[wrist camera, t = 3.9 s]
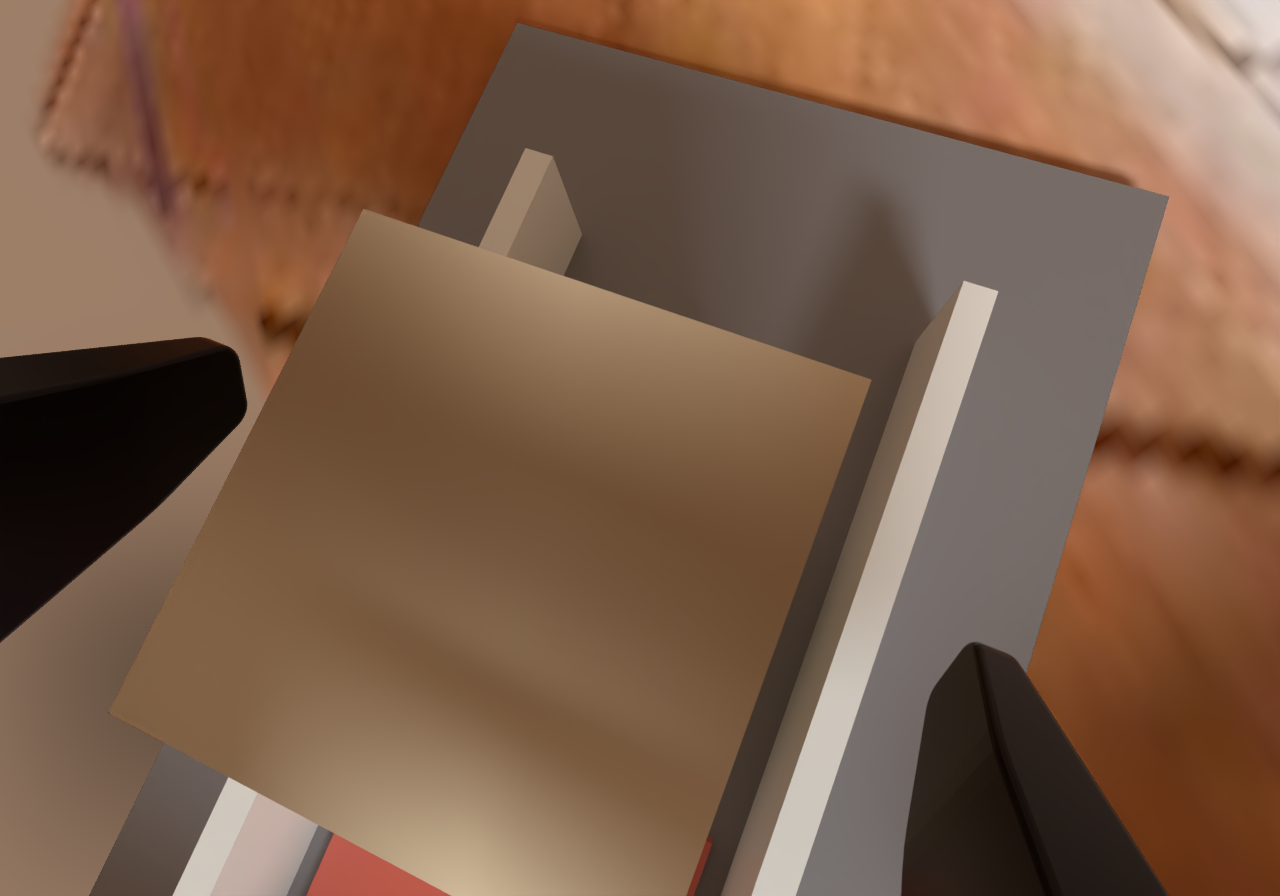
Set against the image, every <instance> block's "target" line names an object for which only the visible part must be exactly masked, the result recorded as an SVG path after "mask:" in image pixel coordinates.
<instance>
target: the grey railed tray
mask: <svg viewBox="0 0 1280 896" xmlns="http://www.w3.org/2000/svg"><path fill="white" fill-rule="evenodd" d="M1168 199H1169V196H1165V195H1161V194H1158V193H1154V192H1150V191H1146V190H1143V189H1139V188H1135V187H1131V186H1128V185H1124V184H1120V183H1117V182H1113V181H1109V180H1105V179H1102V178H1098V177H1094V176H1090V175H1087V174H1083V173H1079V172H1075V171H1072V170H1068V169H1064V168H1060V167H1057V166H1053V165H1049V164H1045V163H1042V162H1038V161H1034V160H1030V159H1027V158H1023V157H1019V156H1015V155H1012V154H1008V153H1004V152H1000V151H997V150H993V149H989V148H985V147H982V146H978V145H974V144H970V143H967V142H963V141H959V140H956V139H952V138H948V137H944V136H941V135H937V134H933V133H929V132H926V131H922V130H918V129H914V128H911V127H907V126H903V125H899V124H896V123H892V122H888V121H884V120H881V119H877V118H873V117H869V116H866V115H862V114H858V113H854V112H851V111H847V110H843V109H839V108H836V107H832V106H828V105H824V104H821V103H817V102H813V101H809V100H806V99H802V98H798V97H795V96H791V95H787V94H783V93H780V92H776V91H772V90H768V89H765V88H761V87H757V86H753V85H750V84H746V83H742V82H738V81H735V80H731V79H727V78H723V77H720V76H716V75H712V74H708V73H705V72H701V71H697V70H693V69H690V68H686V67H682V66H678V65H675V64H671V63H667V62H663V61H660V60H656V59H652V58H649V57H645V56H641V55H637V54H634V53H630V52H626V51H622V50H619V49H615V48H611V47H607V46H604V45H600V44H596V43H592V42H589V41H585V40H581V39H577V38H574V37H570V36H566V35H562V34H559V33H555V32H551V31H547V30H544V29H540V28H536V27H532V26H529V25H525V24H521V23H517V24H516V26H515V28H514V30H513V32H512V34H511V36H510V39H509V41H508V43H507V45H506V47H505V49H504V51H503V53H502V55H501V57H500V59H499V61H498V63H497V65H496V67H495V69H494V71H493V73H492V75H491V77H490V79H489V81H488V83H487V85H486V87H485V90H484V92H483V94H482V96H481V98H480V100H479V102H478V104H477V106H476V108H475V110H474V112H473V114H472V116H471V118H470V120H469V122H468V124H467V126H466V128H465V130H464V132H463V134H462V136H461V138H460V140H459V143H458V145H457V147H456V149H455V151H454V153H453V155H452V157H451V159H450V161H449V163H448V165H447V167H446V169H445V171H444V173H443V175H442V177H441V179H440V181H439V183H438V185H437V187H436V189H435V191H434V194H433V196H432V198H431V200H430V202H429V204H428V206H427V208H426V210H425V212H424V214H423V216H422V218H421V220H420V222H419V224H418V226H417V227H419V228H422V229H425V230H428V231H431V232H434V233H437V234H440V235H443V236H446V237H449V238H452V239H455V240H458V241H461V242H464V243H467V244H470V245H473V246H476V247H479V248H482V249H485V250H488V251H491V252H494V253H497V254H500V255H503V256H506V257H509V258H512V259H515V260H518V261H520V262H523V263H526V264H529V265H532V266H535V267H538V268H541V269H544V270H547V271H550V272H553V273H556V274H559V275H562V276H565V277H568V278H571V279H574V280H577V281H580V282H583V283H586V284H589V285H592V286H595V287H598V288H601V289H604V290H607V291H610V292H613V293H616V294H619V295H622V296H624V297H627V298H630V299H633V300H636V301H639V302H642V303H645V304H648V305H651V306H654V307H657V308H660V309H663V310H666V311H669V312H672V313H675V314H678V315H681V316H684V317H687V318H690V319H693V320H696V321H699V322H702V323H705V324H708V325H711V326H714V327H717V328H720V329H723V330H726V331H728V332H731V333H734V334H737V335H740V336H743V337H746V338H749V339H752V340H755V341H758V342H761V343H764V344H767V345H770V346H773V347H776V348H779V349H782V350H785V351H788V352H791V353H794V354H797V355H800V356H803V357H806V358H809V359H812V360H815V361H818V362H821V363H824V364H827V365H830V366H832V367H835V368H838V369H841V370H844V371H847V372H850V373H853V374H856V375H859V376H862V377H865V378H868V379H871V383H870V386H869V389H868V391H867V394H866V397H865V400H864V403H863V405H862V408H861V411H860V414H859V416H858V419H857V422H856V425H855V428H854V430H853V433H852V436H851V439H850V442H849V444H848V447H847V450H846V453H845V455H844V458H843V461H842V464H841V467H840V469H839V472H838V475H837V478H836V480H835V483H834V486H833V489H832V492H831V494H830V497H829V500H828V503H827V506H826V508H825V511H824V514H823V517H822V519H821V522H820V525H819V528H818V531H817V533H816V536H815V539H814V542H813V544H812V547H811V550H810V553H809V556H808V558H807V561H806V564H805V567H804V569H803V572H802V575H801V578H800V581H799V583H798V586H797V589H796V592H795V595H794V597H793V600H792V603H791V606H790V608H789V611H788V614H787V617H786V620H785V622H784V625H783V628H782V631H781V633H780V636H779V639H778V642H777V645H776V647H775V650H774V653H773V656H772V658H771V661H770V664H769V667H768V670H767V672H766V675H765V678H764V681H763V684H762V686H761V689H760V692H759V695H758V697H757V700H756V703H755V706H754V709H753V711H752V714H751V717H750V720H749V722H748V725H747V728H746V731H745V734H744V736H743V739H742V742H741V745H740V748H739V750H738V753H737V756H736V759H735V761H734V764H733V767H732V770H731V773H730V775H729V778H728V781H727V784H726V786H725V789H724V792H723V795H722V798H721V800H720V803H719V806H718V809H717V811H716V814H715V817H714V820H713V823H712V825H711V828H710V831H709V834H708V837H707V839H706V842H705V845H704V848H703V850H702V853H701V856H700V859H699V862H698V864H697V867H696V870H695V873H694V875H693V878H692V881H691V884H690V887H689V889H688V892H687V895H686V896H901V880H902V864H903V850H904V842H905V835H906V827H907V821H908V815H909V809H910V803H911V796H912V790H913V784H914V778H915V772H916V766H917V760H918V754H919V748H920V742H921V735H922V729H923V723H924V717H925V711H926V706H927V702H928V699H929V696H930V694H931V692H932V690H933V688H934V686H935V685H936V683H937V682H938V681H939V679H940V678H941V676H942V675H943V674H944V672H945V671H946V670H947V668H948V667H949V666H950V664H951V663H952V662H953V660H954V659H955V658H956V656H957V655H958V654H959V652H960V651H961V650H962V648H963V647H964V646H966V645H967V644H968V643H970V642H980V643H983V644H985V645H988V646H990V647H993V648H995V649H998V650H1000V651H1003V652H1005V653H1008V654H1010V655H1011V656H1013V657H1014V658H1015V659H1016V660H1017V661H1018V662H1019V664H1020V665H1021V667H1022V668H1023V670H1024V671H1025V673H1027V669H1028V666H1029V663H1030V659H1031V656H1032V653H1033V649H1034V646H1035V643H1036V639H1037V636H1038V633H1039V629H1040V626H1041V623H1042V619H1043V616H1044V613H1045V609H1046V606H1047V603H1048V599H1049V596H1050V593H1051V589H1052V586H1053V583H1054V579H1055V576H1056V573H1057V569H1058V566H1059V563H1060V559H1061V556H1062V553H1063V549H1064V546H1065V543H1066V539H1067V536H1068V533H1069V529H1070V526H1071V523H1072V519H1073V516H1074V512H1075V509H1076V506H1077V502H1078V499H1079V496H1080V492H1081V489H1082V486H1083V482H1084V479H1085V476H1086V472H1087V469H1088V466H1089V462H1090V459H1091V456H1092V452H1093V449H1094V446H1095V442H1096V439H1097V436H1098V432H1099V429H1100V426H1101V422H1102V419H1103V416H1104V412H1105V409H1106V406H1107V402H1108V399H1109V396H1110V392H1111V389H1112V386H1113V382H1114V379H1115V376H1116V372H1117V369H1118V366H1119V362H1120V359H1121V356H1122V352H1123V349H1124V346H1125V342H1126V339H1127V336H1128V332H1129V329H1130V326H1131V322H1132V319H1133V316H1134V312H1135V309H1136V306H1137V302H1138V299H1139V296H1140V292H1141V289H1142V285H1143V282H1144V279H1145V275H1146V272H1147V269H1148V265H1149V262H1150V259H1151V255H1152V252H1153V249H1154V245H1155V242H1156V239H1157V235H1158V232H1159V229H1160V225H1161V222H1162V219H1163V215H1164V212H1165V209H1166V205H1167V202H1168ZM89 896H451V895H449V894H447V893H445V892H443V891H442V890H440V889H438V888H436V887H434V886H432V885H430V884H428V883H427V882H425V881H423V880H421V879H419V878H417V877H415V876H413V875H411V874H410V873H408V872H406V871H404V870H402V869H400V868H398V867H396V866H395V865H393V864H391V863H389V862H387V861H385V860H383V859H381V858H380V857H378V856H376V855H374V854H372V853H370V852H368V851H366V850H364V849H363V848H361V847H359V846H357V845H355V844H353V843H351V842H349V841H348V840H346V839H344V838H342V837H340V836H338V835H336V834H334V833H333V832H331V831H329V830H327V829H325V828H323V827H321V826H319V825H318V824H316V823H314V822H312V821H310V820H308V819H306V818H304V817H302V816H301V815H299V814H297V813H295V812H293V811H291V810H289V809H287V808H286V807H284V806H282V805H280V804H278V803H276V802H274V801H272V800H271V799H269V798H267V797H265V796H263V795H261V794H259V793H257V792H256V791H254V790H252V789H250V788H248V787H246V786H244V785H242V784H240V783H239V782H237V781H235V780H233V779H231V778H229V777H227V776H225V775H224V774H222V773H220V772H218V771H216V770H214V769H212V768H210V767H209V766H207V765H205V764H203V763H201V762H199V761H197V760H195V759H194V758H192V757H190V756H188V755H186V754H184V753H182V752H180V751H178V750H177V749H175V748H173V747H171V746H169V745H167V744H165V743H164V744H163V746H162V748H161V750H160V752H159V755H158V756H157V758H156V760H155V762H154V765H153V767H152V769H151V771H150V773H149V775H148V777H147V779H146V781H145V783H144V785H143V787H142V789H141V791H140V793H139V795H138V797H137V799H136V801H135V803H134V805H133V808H132V809H131V812H130V813H129V815H128V818H127V820H126V822H125V824H124V826H123V828H122V830H121V832H120V834H119V836H118V838H117V840H116V842H115V844H114V846H113V848H112V850H111V852H110V854H109V856H108V858H107V861H106V863H105V864H104V866H103V869H102V871H101V873H100V875H99V877H98V879H97V881H96V883H95V885H94V887H93V889H92V891H91V893H90V895H89Z"/></svg>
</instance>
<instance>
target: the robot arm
mask: <svg viewBox="0 0 1280 896" xmlns="http://www.w3.org/2000/svg"><path fill="white" fill-rule="evenodd" d="M246 410H247V398H246V393H245V387H244V382H243V376H242V371H241V365H240V360H239V357H238V355H237V354H236V352H235V351H234V350H233V349H232V348H230V347H228V346H226V345H223V344H221V343H218V342H215V341H213V340H211V339H208V338H203V337H194V338H184V339H174V340H165V341H156V342H147V343H137V344H127V345H118V346H110V347H109V346H108V347H99V348H90V349H80V350H70V351H61V352H52V353H42V354H33V355H23V356H14V357H4V358H0V642H1V641H3V640H4V639H5V638H6V637H7V636H9V635H10V634H11V633H12V632H13V631H15V630H16V629H17V628H18V627H19V626H20V625H22V624H23V623H24V622H25V621H26V620H27V619H29V618H30V617H31V616H32V615H33V614H34V613H36V611H38V610H39V609H40V608H41V607H43V606H44V605H45V604H46V603H47V602H48V601H50V600H51V599H52V598H53V597H54V596H55V595H57V594H58V593H59V592H60V591H61V590H62V589H63V588H65V587H66V586H67V585H68V584H69V583H71V582H72V581H73V580H74V579H75V578H76V577H78V576H79V575H80V574H81V573H82V572H83V571H85V570H86V569H87V568H88V567H89V566H90V565H92V564H93V563H94V562H95V561H96V560H97V559H98V558H100V557H101V556H102V555H103V554H104V553H106V552H107V551H108V550H109V549H110V548H111V547H113V546H114V545H115V544H116V543H117V542H118V541H120V540H121V539H122V538H123V537H124V536H126V535H127V534H128V533H129V532H130V531H131V530H133V529H134V528H135V527H136V526H137V525H138V524H139V523H141V522H142V521H143V520H144V519H145V518H146V517H147V516H148V515H150V514H151V513H152V512H153V511H154V510H155V509H156V508H157V507H158V506H159V505H160V504H161V503H162V502H164V501H165V499H167V497H169V496H170V495H171V494H172V493H173V492H174V490H176V488H177V487H178V486H179V485H180V484H181V483H182V482H183V481H184V480H185V479H186V478H187V477H188V476H189V475H190V474H191V473H192V472H193V471H194V470H195V469H196V468H197V467H198V466H199V465H200V464H201V463H202V462H203V460H205V459H206V458H207V457H208V455H209V454H210V453H211V452H212V451H213V450H214V449H215V448H216V447H217V446H218V445H219V444H220V443H221V442H222V441H223V440H224V439H225V438H226V437H227V436H228V435H229V434H230V433H231V432H232V431H233V430H234V429H235V428H236V427H237V426H238V424H239V423H240V422H241V421H242V419H243V418H244V416H245V413H246ZM901 896H1169V894H1168V893H1167V891H1166V890H1165V888H1164V887H1163V885H1162V883H1161V882H1160V880H1159V879H1158V877H1157V876H1156V874H1155V873H1154V871H1153V869H1152V868H1151V866H1150V865H1149V863H1148V862H1147V860H1146V859H1145V857H1144V856H1143V854H1142V852H1141V851H1140V849H1139V848H1138V846H1137V845H1136V843H1135V842H1134V840H1133V839H1132V837H1131V835H1130V834H1129V832H1128V831H1127V829H1126V828H1125V826H1124V825H1123V823H1122V821H1121V820H1120V818H1119V817H1118V815H1117V814H1116V812H1115V811H1114V809H1113V808H1112V806H1111V804H1110V803H1109V801H1108V800H1107V798H1106V797H1105V795H1104V794H1103V792H1102V791H1101V789H1100V787H1099V786H1098V784H1097V783H1096V781H1095V780H1094V778H1093V777H1092V775H1091V774H1090V772H1089V770H1088V769H1087V767H1086V766H1085V764H1084V763H1083V761H1082V760H1081V758H1080V756H1079V755H1078V753H1077V752H1076V750H1075V749H1074V747H1073V746H1072V744H1071V743H1070V741H1069V739H1068V738H1067V736H1066V735H1065V733H1064V732H1063V730H1062V729H1061V727H1060V726H1059V724H1058V722H1057V721H1056V719H1055V718H1054V716H1053V715H1052V713H1051V712H1050V710H1049V708H1048V707H1047V705H1046V704H1045V702H1044V701H1043V699H1042V698H1041V696H1040V695H1039V693H1038V691H1037V690H1036V688H1035V687H1034V685H1033V684H1032V682H1031V681H1030V679H1029V678H1028V676H1027V674H1026V673H1025V671H1024V670H1023V668H1022V667H1021V665H1020V664H1019V662H1018V661H1017V660H1016V659H1015V658H1014V657H1013V656H1011V655H1010V654H1008V653H1005V652H1003V651H1000V650H998V649H995V648H993V647H990V646H988V645H985V644H983V643H980V642H970V643H968V644H967V645H966V646H964V647H963V648H962V650H961V651H960V652H959V654H958V655H957V656H956V658H955V659H954V660H953V662H952V663H951V664H950V666H949V667H948V668H947V670H946V671H945V672H944V674H943V675H942V676H941V678H940V679H939V681H938V682H937V683H936V685H935V686H934V688H933V690H932V692H931V694H930V696H929V699H928V702H927V706H926V711H925V717H924V723H923V729H922V735H921V742H920V748H919V754H918V760H917V766H916V772H915V778H914V784H913V790H912V796H911V803H910V809H909V815H908V821H907V827H906V835H905V842H904V850H903V864H902V880H901Z"/></svg>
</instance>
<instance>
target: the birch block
mask: <svg viewBox="0 0 1280 896" xmlns="http://www.w3.org/2000/svg"><path fill="white" fill-rule="evenodd" d="M870 383H871V379H868V378H865V377H862V376H859V375H856V374H853V373H850V372H847V371H844V370H841V369H838V368H835V367H832V366H830V365H827V364H824V363H821V362H818V361H815V360H812V359H809V358H806V357H803V356H800V355H797V354H794V353H791V352H788V351H785V350H782V349H779V348H776V347H773V346H770V345H767V344H764V343H761V342H758V341H755V340H752V339H749V338H746V337H743V336H740V335H737V334H734V333H731V332H728V331H726V330H723V329H720V328H717V327H714V326H711V325H708V324H705V323H702V322H699V321H696V320H693V319H690V318H687V317H684V316H681V315H678V314H675V313H672V312H669V311H666V310H663V309H660V308H657V307H654V306H651V305H648V304H645V303H642V302H639V301H636V300H633V299H630V298H627V297H624V296H622V295H619V294H616V293H613V292H610V291H607V290H604V289H601V288H598V287H595V286H592V285H589V284H586V283H583V282H580V281H577V280H574V279H571V278H568V277H565V276H562V275H559V274H556V273H553V272H550V271H547V270H544V269H541V268H538V267H535V266H532V265H529V264H526V263H523V262H520V261H518V260H515V259H512V258H509V257H506V256H503V255H500V254H497V253H494V252H491V251H488V250H485V249H482V248H479V247H476V246H473V245H470V244H467V243H464V242H461V241H458V240H455V239H452V238H449V237H446V236H443V235H440V234H437V233H434V232H431V231H428V230H425V229H422V228H419V227H417V226H414V225H411V224H408V223H405V222H402V221H399V220H396V219H393V218H390V217H387V216H384V215H381V214H378V213H375V212H372V211H369V210H366V209H363V211H362V213H361V215H360V217H359V219H358V221H357V223H356V225H355V227H354V229H353V231H352V233H351V235H350V236H349V238H348V240H347V242H346V244H345V246H344V248H343V250H342V252H341V254H340V256H339V258H338V260H337V262H336V264H335V266H334V268H333V270H332V272H331V274H330V276H329V278H328V280H327V282H326V284H325V286H324V288H323V290H322V292H321V294H320V296H319V298H318V300H317V302H316V304H315V306H314V308H313V310H312V312H311V313H310V315H309V317H308V319H307V321H306V323H305V325H304V327H303V329H302V331H301V333H300V335H299V337H298V339H297V341H296V343H295V345H294V347H293V349H292V351H291V353H290V355H289V357H288V359H287V361H286V363H285V365H284V367H283V369H282V371H281V373H280V375H279V377H278V379H277V381H276V383H275V385H274V387H273V389H272V390H271V392H270V394H269V396H268V398H267V400H266V402H265V404H264V406H263V408H262V410H261V412H260V414H259V416H258V418H257V420H256V422H255V424H254V426H253V428H252V430H251V432H250V434H249V436H248V438H247V440H246V442H245V444H244V446H243V448H242V450H241V452H240V454H239V456H238V458H237V460H236V462H235V464H234V466H233V468H232V469H231V472H230V473H229V475H228V477H227V479H226V481H225V483H224V485H223V487H222V489H221V491H220V493H219V495H218V497H217V499H216V501H215V503H214V505H213V507H212V509H211V511H210V513H209V515H208V517H207V519H206V521H205V523H204V525H203V527H202V529H201V531H200V533H199V535H198V537H197V539H196V541H195V543H194V545H193V547H192V548H191V550H190V553H189V554H188V556H187V558H186V560H185V562H184V565H183V566H182V568H181V570H180V572H179V574H178V576H177V578H176V580H175V582H174V584H173V586H172V588H171V590H170V592H169V594H168V596H167V598H166V600H165V602H164V604H163V606H162V608H161V610H160V612H159V614H158V616H157V618H156V620H155V622H154V623H153V626H152V627H151V629H150V631H149V633H148V635H147V637H146V639H145V641H144V643H143V645H142V647H141V649H140V651H139V653H138V655H137V657H136V659H135V661H134V663H133V665H132V667H131V669H130V671H129V673H128V675H127V677H126V679H125V681H124V683H123V685H122V687H121V689H120V691H119V693H118V695H117V697H116V699H115V701H114V702H113V704H112V706H111V708H110V710H109V712H108V713H109V714H111V715H113V716H115V717H117V718H118V719H120V720H122V721H124V722H126V723H128V724H130V725H132V726H134V727H135V728H138V729H139V730H141V731H143V732H145V733H147V734H148V735H150V736H152V737H154V738H156V739H158V740H160V741H162V742H163V743H165V744H167V745H169V746H171V747H173V748H175V749H177V750H178V751H180V752H182V753H184V754H186V755H188V756H190V757H192V758H194V759H195V760H197V761H199V762H201V763H203V764H205V765H207V766H209V767H210V768H212V769H214V770H216V771H218V772H220V773H222V774H224V775H225V776H227V777H229V778H231V779H233V780H235V781H237V782H239V783H240V784H242V785H244V786H246V787H248V788H250V789H252V790H254V791H256V792H257V793H259V794H261V795H263V796H265V797H267V798H269V799H271V800H272V801H274V802H276V803H278V804H280V805H282V806H284V807H286V808H287V809H289V810H291V811H293V812H295V813H297V814H299V815H301V816H302V817H304V818H306V819H308V820H310V821H312V822H314V823H316V824H318V825H319V826H321V827H323V828H325V829H327V830H329V831H331V832H333V833H334V834H336V835H338V836H340V837H342V838H344V839H346V840H348V841H349V842H351V843H353V844H355V845H357V846H359V847H361V848H363V849H364V850H366V851H368V852H370V853H372V854H374V855H376V856H378V857H380V858H381V859H383V860H385V861H387V862H389V863H391V864H393V865H395V866H396V867H398V868H400V869H402V870H404V871H406V872H408V873H410V874H411V875H413V876H415V877H417V878H419V879H421V880H423V881H425V882H427V883H428V884H430V885H432V886H434V887H436V888H438V889H440V890H442V891H443V892H445V893H447V894H449V895H451V896H686V895H687V892H688V889H689V887H690V884H691V881H692V878H693V875H694V873H695V870H696V867H697V864H698V862H699V859H700V856H701V853H702V850H703V848H704V845H705V842H706V839H707V837H708V834H709V831H710V828H711V825H712V823H713V820H714V817H715V814H716V811H717V809H718V806H719V803H720V800H721V798H722V795H723V792H724V789H725V786H726V784H727V781H728V778H729V775H730V773H731V770H732V767H733V764H734V761H735V759H736V756H737V753H738V750H739V748H740V745H741V742H742V739H743V736H744V734H745V731H746V728H747V725H748V722H749V720H750V717H751V714H752V711H753V709H754V706H755V703H756V700H757V697H758V695H759V692H760V689H761V686H762V684H763V681H764V678H765V675H766V672H767V670H768V667H769V664H770V661H771V658H772V656H773V653H774V650H775V647H776V645H777V642H778V639H779V636H780V633H781V631H782V628H783V625H784V622H785V620H786V617H787V614H788V611H789V608H790V606H791V603H792V600H793V597H794V595H795V592H796V589H797V586H798V583H799V581H800V578H801V575H802V572H803V569H804V567H805V564H806V561H807V558H808V556H809V553H810V550H811V547H812V544H813V542H814V539H815V536H816V533H817V531H818V528H819V525H820V522H821V519H822V517H823V514H824V511H825V508H826V506H827V503H828V500H829V497H830V494H831V492H832V489H833V486H834V483H835V480H836V478H837V475H838V472H839V469H840V467H841V464H842V461H843V458H844V455H845V453H846V450H847V447H848V444H849V442H850V439H851V436H852V433H853V430H854V428H855V425H856V422H857V419H858V416H859V414H860V411H861V408H862V405H863V403H864V400H865V397H866V394H867V391H868V389H869V386H870Z"/></svg>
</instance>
